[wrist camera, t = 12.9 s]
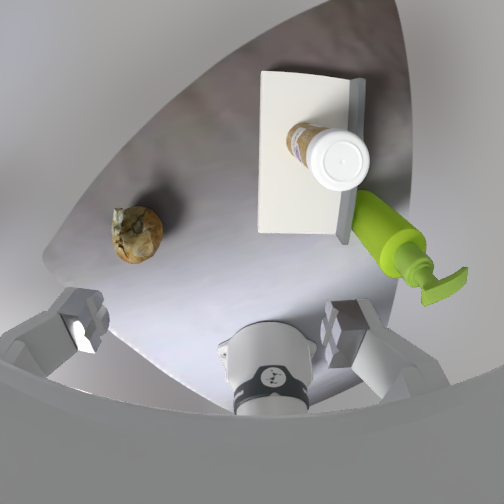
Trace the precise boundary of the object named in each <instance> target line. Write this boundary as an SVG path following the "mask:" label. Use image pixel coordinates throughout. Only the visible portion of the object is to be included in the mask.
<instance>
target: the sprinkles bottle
mask: <svg viewBox="0 0 504 504" xmlns="http://www.w3.org/2000/svg"><path fill="white" fill-rule="evenodd" d="M286 145H287V148H288V150H289V152H290V153H291V154H292V155H293V156H294V157H296V158H297V159H298V160H299V161H300V162H301V163H302V164H303V165H304V166H306V167H307V168H308V169H309V171H310V173H311V174H312V176H313V177H314V178H315V179H316V180H317V181H318V182H319V183H320V184H321V185H323V186H324V187H326V188H328V189H330V190H334V191H347V190H350V189H352V188H354V187H356V186H357V185H359V184H360V183H361V182H362V181H363V180H364V178H365V177H366V175H367V172H368V169H369V165H370V157H369V152H368V149H367V147H366V145H365V143H364V142H363V141H362V140H361V139H360V138H359V137H358V136H357V135H355V134H354V133H352V132H349V131H346V130H343V129H338V128H329V127H325V126H320V125H315V124H311V123H298V124H296V125H294V126H293V127H292V128H291V129H290V130H289V132H288V134H287V137H286Z"/></svg>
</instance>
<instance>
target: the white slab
mask: <svg viewBox="0 0 504 504" xmlns="http://www.w3.org/2000/svg"><path fill="white" fill-rule="evenodd" d="M365 93H366V79H363V78H356V79H352V80H346V79H340V78H334V77H327V76H320V75H312V74H302V73H291V72H276V71H262V72H261V87H260V141H259V187H258V233H302V234H336V236H337V237H338V239H339V240H340V242H341V244H342V245H348V243H349V237H350V232H351V226H352V220H353V214H354V207H355V201H356V194H357V186H358V185H357V186H356V187H354V188H352V189H350V190H347V191H334V190H330V189H328V188H326V187H324V186H323V185H321V184H320V183H319V182H318V181H317V180H316V179H315V178H314V177H313V176H312V174H311V173H310V171H309V169H308V168H307V167H306V166H304V165H303V164H302V163H301V162H300V161H299V160H298V159H297V158H296V157H294V156H293V155H292V154H291V153H290V152H289V150H288V148H287V145H286V137H287V134H288V132H289V130H290V129H291V128H292V127H293V126H294V125H296V124H298V123H311V124H315V125H320V126H325V127H329V128H338V129H343V130H346V131H349V132H352V133H354V134H355V135H357V136H358V137H359V138H360V139H361V140H362V141H363V137H364V134H363V129H364V114H365Z"/></svg>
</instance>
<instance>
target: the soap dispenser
mask: <svg viewBox="0 0 504 504" xmlns="http://www.w3.org/2000/svg"><path fill="white" fill-rule="evenodd" d="M351 229H352V231H353V232H354V233H355V234H356V236H357V237H358V238H359V240H360V241H361V242H362V244H363V245H364V246H365V248H366V249H367V250H368V252H369V253H370V254H371V256H372V257H373V258H374V260H375V261H376V263H377V264H378V265H379V267H380V268H381V270H382V271H383V272H384V273H385V274H386V275H387V276H389V277H391V278H403V279H404V280H405V282H406V283H407V284H408V285H409V286H410V287H419V286H420V287H421V289H422V298H421V303H422V304H423V306H427V305H430V304H433V303H435V302H438V301H440V300H443V299H445V298H447V297H449V296H450V295H452V294H454V293H455V292H457V291H458V290H459V289H460V288H461V287H463V286H464V285H465V284H466V281H467V273H468V267H462V268H461V269H460V270H458V271H457V272H455V273H454V274H452V275H450V276H448V277H446V278H443V279H441V280H439V281H438V279H437V278H436V277H435V276H434V275H433V274H432V273H433V269H434V264H433V261H432V260H431V259H430V258H429V257H428V256H427V255H426V240H425V238H424V236H423V234H422V233H421V232H419V230H417V229H416V228H415V227H414V226H413V225H412V224H410V223H409V222H408V221H407V220H406V219H405V218H403V217H402V216H401V215H400V214H399V213H397V212H396V211H395V210H394V209H392V208H391V207H390V206H389V205H387V204H386V203H385V202H384V201H382V200H381V199H380V198H378V197H377V196H376V195H374V194H373V193H372V192H370V191H367V190H359V191H357V194H356V201H355V207H354V214H353V220H352V226H351Z"/></svg>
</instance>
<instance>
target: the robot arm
mask: <svg viewBox="0 0 504 504" xmlns="http://www.w3.org/2000/svg"><path fill="white" fill-rule="evenodd" d="M103 302H104V298H103V295H102V293H101V292H100V291H98V290H90V289H83V288H74V287H68V288H66V289H65V290H64V291H63V292H62V294H61V295H60V296H59V297H58V298H57V300H56V301H55V302H54V303H53V305H52V306H51V307H50V309H49V310H48V311H43V312H41V313H39V314H38V315H36V316H34V317H32V318H30V319H29V320H27V321H25V322H23V323H21V324H19V325H17V326H16V327H14V328H12V329H10V330H8V331H7V332H5V333H3V334H2V336H1V337H0V504H504V365H502V366H500V367H498V368H495V369H493V370H491V371H489V372H486V373H484V374H481V375H479V376H476V377H474V378H471V379H468V380H466V381H463V382H460V383H457V384H455V385H450V383H449V381H448V379H447V378H446V376H445V374H444V372H443V370H442V368H441V366H440V364H439V363H438V361H437V360H436V359H434V358H433V357H431V356H430V355H428V354H427V353H425V352H424V351H422V350H421V349H419V348H418V347H416V346H415V345H413V344H412V343H410V342H409V341H407V340H406V339H404V338H402V337H401V336H400V335H398V334H396V333H395V332H393V331H392V330H391V329H389V328H384V326H383V324H382V322H381V320H380V318H379V316H378V315H377V313H376V311H375V309H374V307H373V305H372V303H371V302H370V300H369V299H355V300H328V301H327V303H326V306H325V312H326V316H325V317H324V318H323V319H322V323H321V330H320V336H321V342H322V345H323V346H324V347H326V351H325V357H326V361H327V365H328V368H345V367H351V369H352V370H353V371H354V372H355V373H356V374H357V375H358V376H359V377H360V378H361V379H362V380H363V381H364V382H365V383H366V384H367V385H368V386H369V387H370V388H371V389H372V390H373V391H374V392H375V393H376V394H377V395H378V396H379V397H381V399H382V401H381V402H380V403H379V404H378V405H372V406H367V407H361V408H354V409H347V410H340V411H331V412H322V413H310V414H308V409H309V395H308V392H307V387H308V386H309V384H310V383H311V381H312V380H313V370H312V363H311V359H312V357H313V356H314V354H315V352H316V350H317V346H316V344H315V343H314V342H312V341H310V340H307V339H306V338H305V337H304V336H303V335H302V333H301V332H300V331H299V330H297V329H296V328H294V327H292V326H290V325H287V324H284V323H279V322H262V323H257V324H253V325H250V326H247V327H245V328H243V329H241V330H240V331H238V332H237V333H236V334H235V335H234V336H233V337H232V338H231V339H230V340H228V341H226V342H223V343H221V344H220V345H218V347H217V351H218V354H219V357H220V359H221V361H222V363H223V366H224V368H225V370H226V382H227V383H229V386H230V388H231V390H232V391H233V392H234V400H233V407H234V413H235V415H222V414H207V413H196V412H195V413H194V412H186V411H178V410H169V409H163V408H157V407H150V406H145V405H140V404H134V403H130V402H124V401H120V400H116V399H112V398H107V397H103V396H99V395H95V394H92V393H88V392H85V391H81V390H78V389H75V388H72V387H68V386H65V385H62V384H59V383H56V382H54V381H51V380H48V378H47V377H48V376H49V375H50V374H51V373H52V372H53V371H54V370H56V369H57V368H58V367H59V366H61V364H63V363H64V362H65V361H66V360H68V359H69V358H70V357H71V356H73V355H74V354H75V353H76V352H77V350H79V351H84V352H89V353H96V351H97V349H98V347H99V345H100V343H101V337H100V336H102V335H103V334H105V333H106V332H107V330H108V328H109V322H110V319H109V313H108V310H107V308H106V307H105V306H104V305H103Z"/></svg>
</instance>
